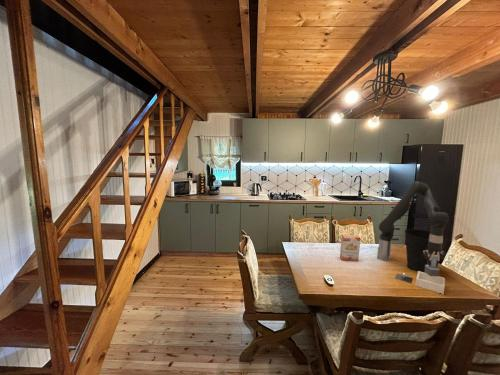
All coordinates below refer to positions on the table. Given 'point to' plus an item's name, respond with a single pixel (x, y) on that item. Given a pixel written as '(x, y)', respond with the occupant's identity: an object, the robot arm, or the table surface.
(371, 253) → the table surface
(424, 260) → the bucket
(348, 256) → the cracker box
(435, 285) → the parts tray
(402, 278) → the stud mount
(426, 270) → the knob
